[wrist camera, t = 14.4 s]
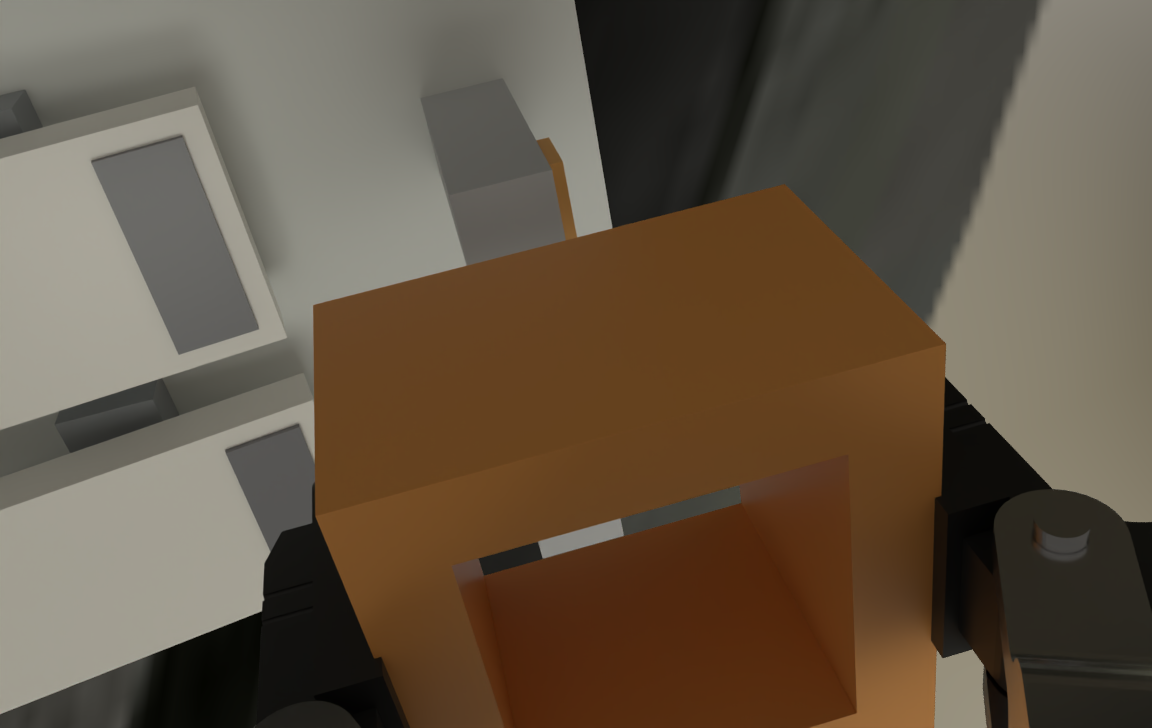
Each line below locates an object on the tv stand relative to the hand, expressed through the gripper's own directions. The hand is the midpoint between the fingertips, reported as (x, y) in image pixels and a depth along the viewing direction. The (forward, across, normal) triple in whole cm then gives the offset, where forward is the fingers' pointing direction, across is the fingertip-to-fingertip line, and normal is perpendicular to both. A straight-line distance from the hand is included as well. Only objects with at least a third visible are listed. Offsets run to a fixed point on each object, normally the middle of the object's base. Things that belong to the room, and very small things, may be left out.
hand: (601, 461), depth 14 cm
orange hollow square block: (+1, 0, 0) cm, 1 cm away
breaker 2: (+11, +10, +8) cm, 17 cm away
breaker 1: (+11, +10, 0) cm, 15 cm away
